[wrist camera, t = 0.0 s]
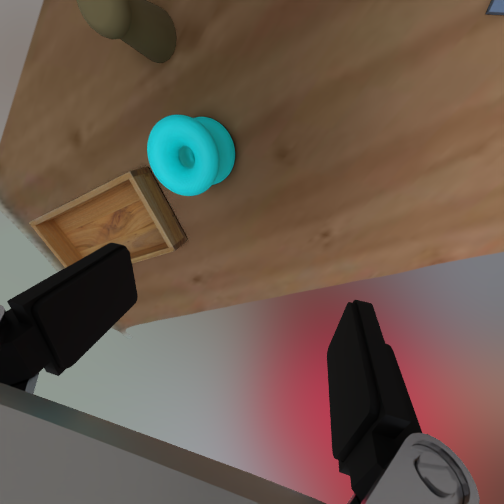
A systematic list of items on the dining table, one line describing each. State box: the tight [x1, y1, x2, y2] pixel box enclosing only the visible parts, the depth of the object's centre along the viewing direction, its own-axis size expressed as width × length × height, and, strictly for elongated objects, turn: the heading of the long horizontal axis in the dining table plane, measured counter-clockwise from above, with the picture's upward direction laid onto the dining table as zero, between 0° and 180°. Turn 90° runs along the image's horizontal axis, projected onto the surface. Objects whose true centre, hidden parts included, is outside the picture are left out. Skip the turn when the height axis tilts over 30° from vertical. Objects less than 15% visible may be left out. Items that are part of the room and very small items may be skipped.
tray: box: [29, 167, 187, 268], centre depth 48 cm, size 31×15×6 cm, turn 113°
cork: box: [77, 0, 176, 63], centre depth 27 cm, size 6×6×11 cm
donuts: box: [147, 115, 235, 196], centre depth 34 cm, size 10×10×10 cm
